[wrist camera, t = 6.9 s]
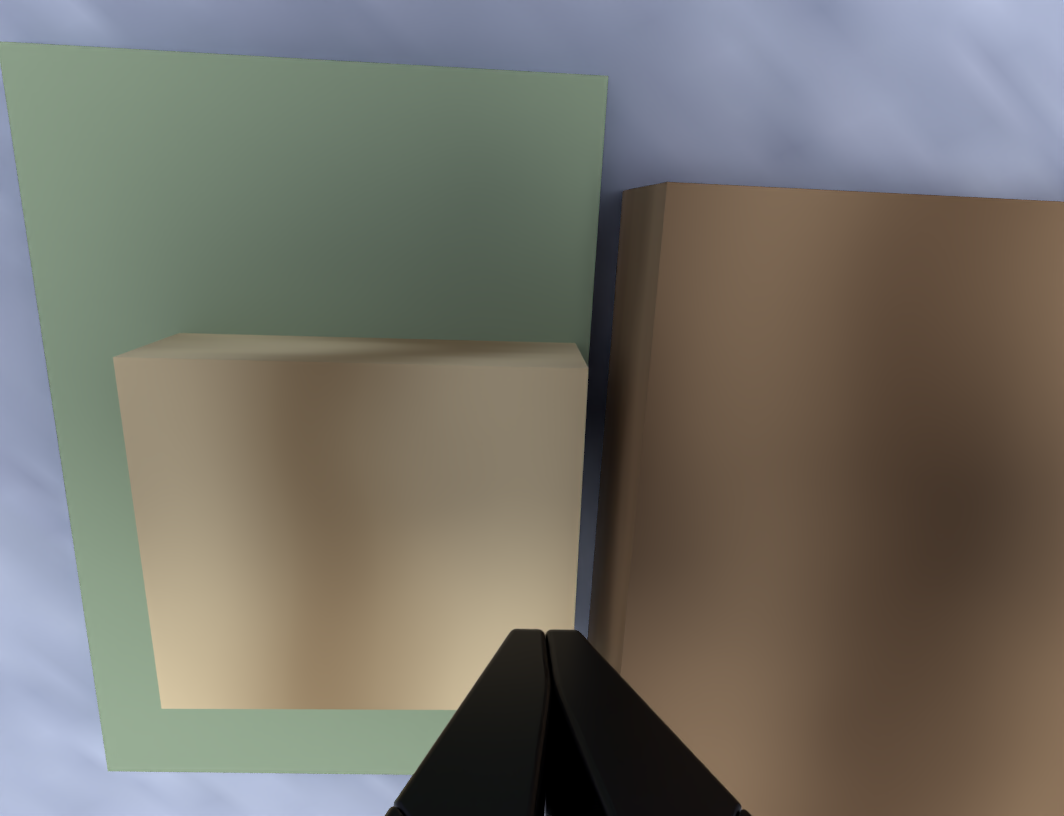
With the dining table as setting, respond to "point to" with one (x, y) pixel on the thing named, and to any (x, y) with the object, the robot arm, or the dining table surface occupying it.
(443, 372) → the birch tile
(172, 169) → the mat
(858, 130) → the dining table surface
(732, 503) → the brown wooden block
